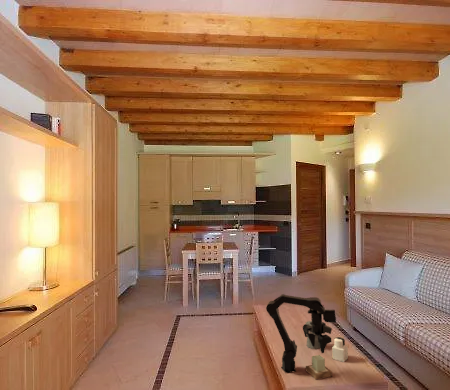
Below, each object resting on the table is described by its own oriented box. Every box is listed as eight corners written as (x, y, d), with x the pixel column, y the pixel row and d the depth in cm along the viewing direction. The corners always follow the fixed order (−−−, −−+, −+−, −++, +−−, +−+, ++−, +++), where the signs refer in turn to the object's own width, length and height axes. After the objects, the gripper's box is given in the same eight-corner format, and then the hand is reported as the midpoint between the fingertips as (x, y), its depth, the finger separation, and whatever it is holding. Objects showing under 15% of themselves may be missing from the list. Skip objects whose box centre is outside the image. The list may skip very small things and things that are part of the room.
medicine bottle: (336, 354, 197) (335, 335, 198) (348, 357, 192) (347, 337, 193) (332, 359, 191) (331, 339, 192) (344, 362, 187) (343, 341, 187)
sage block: (317, 371, 172) (316, 360, 173) (312, 367, 177) (311, 356, 177) (325, 369, 174) (324, 358, 174) (319, 365, 179) (319, 354, 179)
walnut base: (315, 379, 169) (315, 374, 169) (306, 370, 179) (305, 365, 179) (331, 376, 172) (331, 371, 172) (321, 367, 181) (321, 363, 182)
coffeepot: (315, 341, 217) (314, 315, 218) (326, 346, 209) (324, 319, 210) (298, 346, 210) (297, 319, 210) (308, 352, 201) (307, 323, 202)
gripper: (339, 325, 170) (340, 354, 169) (319, 314, 188) (321, 341, 187) (321, 327, 167) (322, 357, 166) (303, 316, 185) (304, 343, 184)
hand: (317, 349), depth 176 cm, fingers open, 9 cm apart
